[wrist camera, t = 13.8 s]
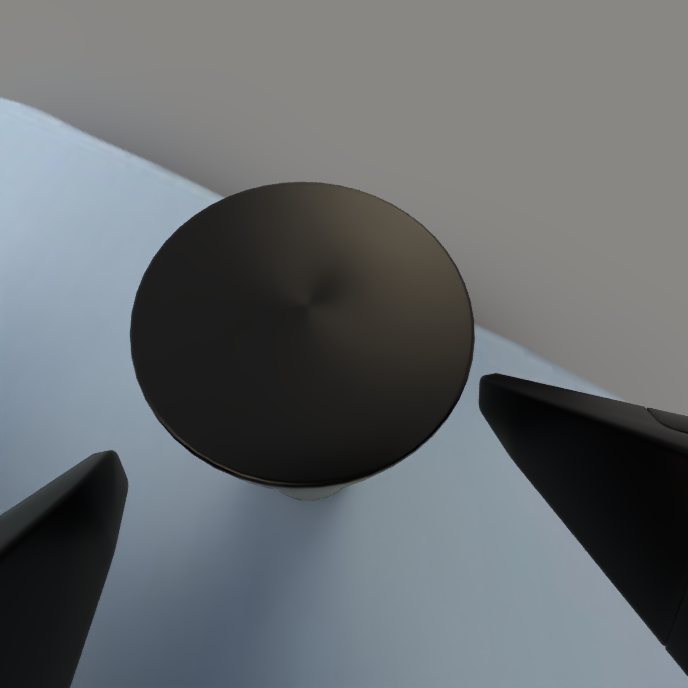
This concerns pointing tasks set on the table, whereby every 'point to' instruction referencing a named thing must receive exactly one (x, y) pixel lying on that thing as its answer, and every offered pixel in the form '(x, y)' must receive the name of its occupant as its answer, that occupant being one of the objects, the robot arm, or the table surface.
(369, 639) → the table surface
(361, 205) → the canister
